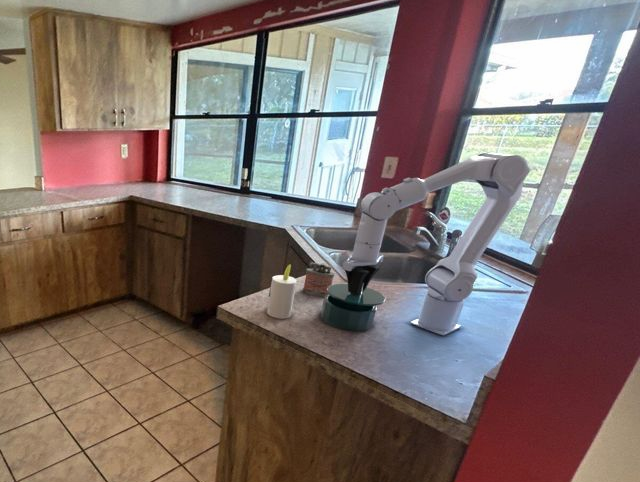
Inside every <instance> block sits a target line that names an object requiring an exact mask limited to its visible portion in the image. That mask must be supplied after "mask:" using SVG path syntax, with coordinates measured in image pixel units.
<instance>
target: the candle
mask: <svg viewBox="0 0 640 482" xmlns="http://www.w3.org/2000/svg"><path fill="white" fill-rule="evenodd" d="M291 267H292V265H291V263H290V264H288V265H287V267H286V268H285V271H284V273H283V274H277V275H274V276H272V277H271V284H270V287H269V292H268V297H269V298H268V305H267V310H266V313H267V315H269V316H270V317H271V318H275V319H281V320H285V319H289V318H290V317H291V315H292V310H293V304H294V300H295V299H294V298H295V293H296V287H297V282H298V280H297V279H296V278H295V277H293V276H290V272H291Z"/></svg>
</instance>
